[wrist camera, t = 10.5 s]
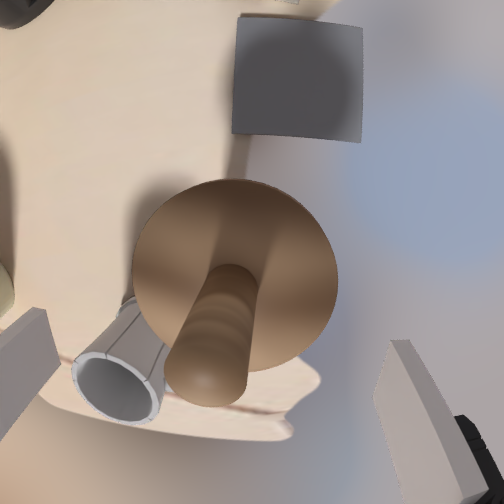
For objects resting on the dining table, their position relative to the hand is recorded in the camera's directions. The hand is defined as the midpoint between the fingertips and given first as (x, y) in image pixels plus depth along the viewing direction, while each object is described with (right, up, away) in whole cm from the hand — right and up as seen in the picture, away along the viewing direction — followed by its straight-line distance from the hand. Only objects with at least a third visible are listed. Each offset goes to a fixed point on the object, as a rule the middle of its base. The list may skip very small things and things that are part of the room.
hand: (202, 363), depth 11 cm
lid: (+1, +2, +8) cm, 9 cm away
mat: (+6, +20, +16) cm, 27 cm away
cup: (-9, -4, +25) cm, 27 cm away
